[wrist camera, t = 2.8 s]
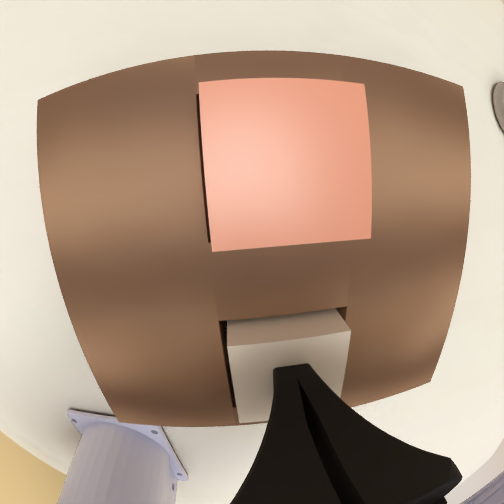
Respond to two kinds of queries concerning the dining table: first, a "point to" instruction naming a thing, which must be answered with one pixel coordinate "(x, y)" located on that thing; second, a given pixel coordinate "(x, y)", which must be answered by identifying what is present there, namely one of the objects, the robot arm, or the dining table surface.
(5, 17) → the dining table surface
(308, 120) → the terracotta key
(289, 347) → the ivory key
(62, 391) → the dining table surface
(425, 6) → the dining table surface
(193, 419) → the key panel
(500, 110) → the rook chess piece
